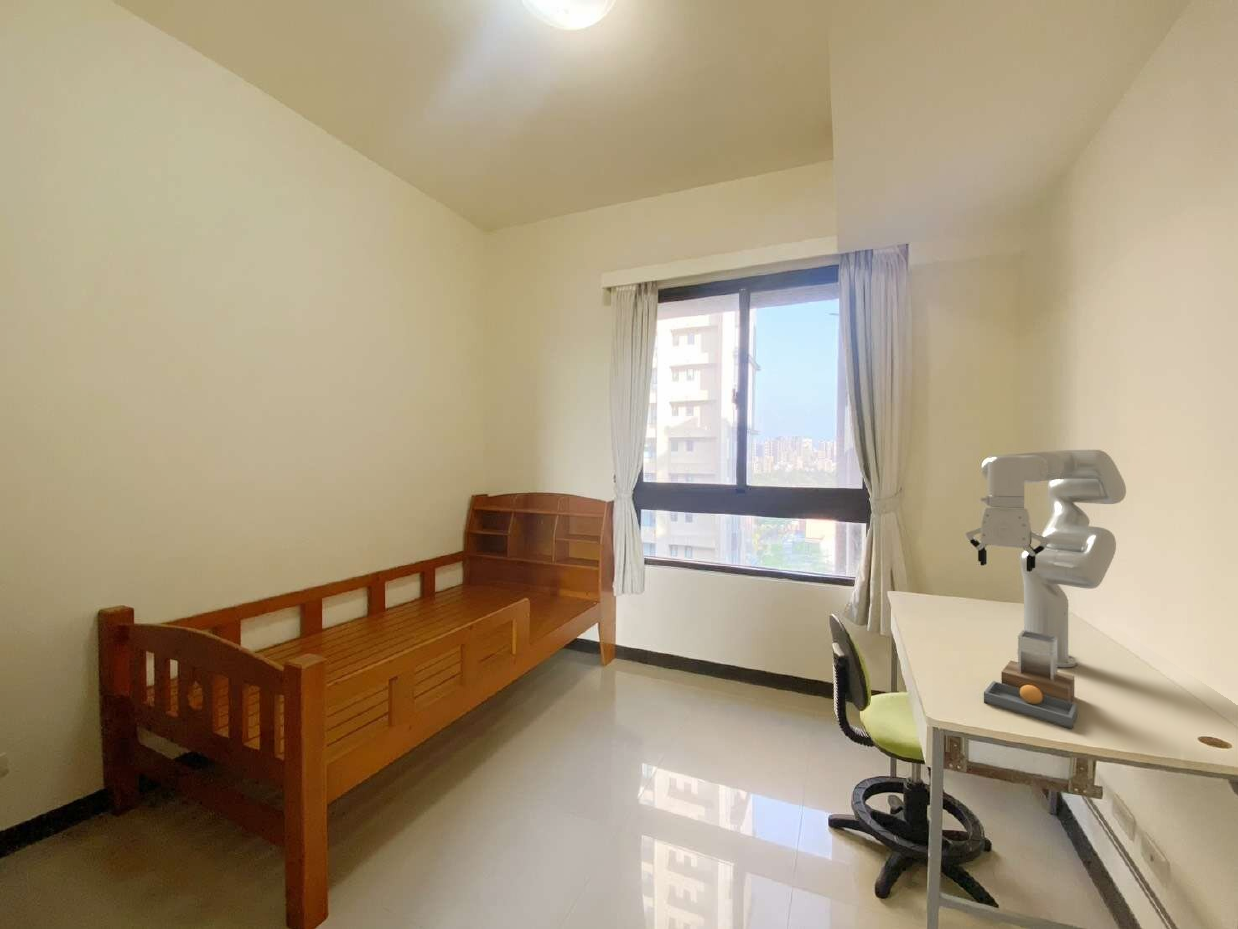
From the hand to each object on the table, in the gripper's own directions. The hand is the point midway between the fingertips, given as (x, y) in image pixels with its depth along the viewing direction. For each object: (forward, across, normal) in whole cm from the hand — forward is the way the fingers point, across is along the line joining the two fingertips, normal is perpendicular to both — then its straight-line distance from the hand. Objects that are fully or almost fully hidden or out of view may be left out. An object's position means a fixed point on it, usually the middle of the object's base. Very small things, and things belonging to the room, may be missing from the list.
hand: (1005, 567), depth 127 cm
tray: (+28, +8, -18) cm, 34 cm away
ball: (+26, +8, -16) cm, 31 cm away
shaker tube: (+23, +8, -8) cm, 26 cm away
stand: (+28, +8, -8) cm, 30 cm away
